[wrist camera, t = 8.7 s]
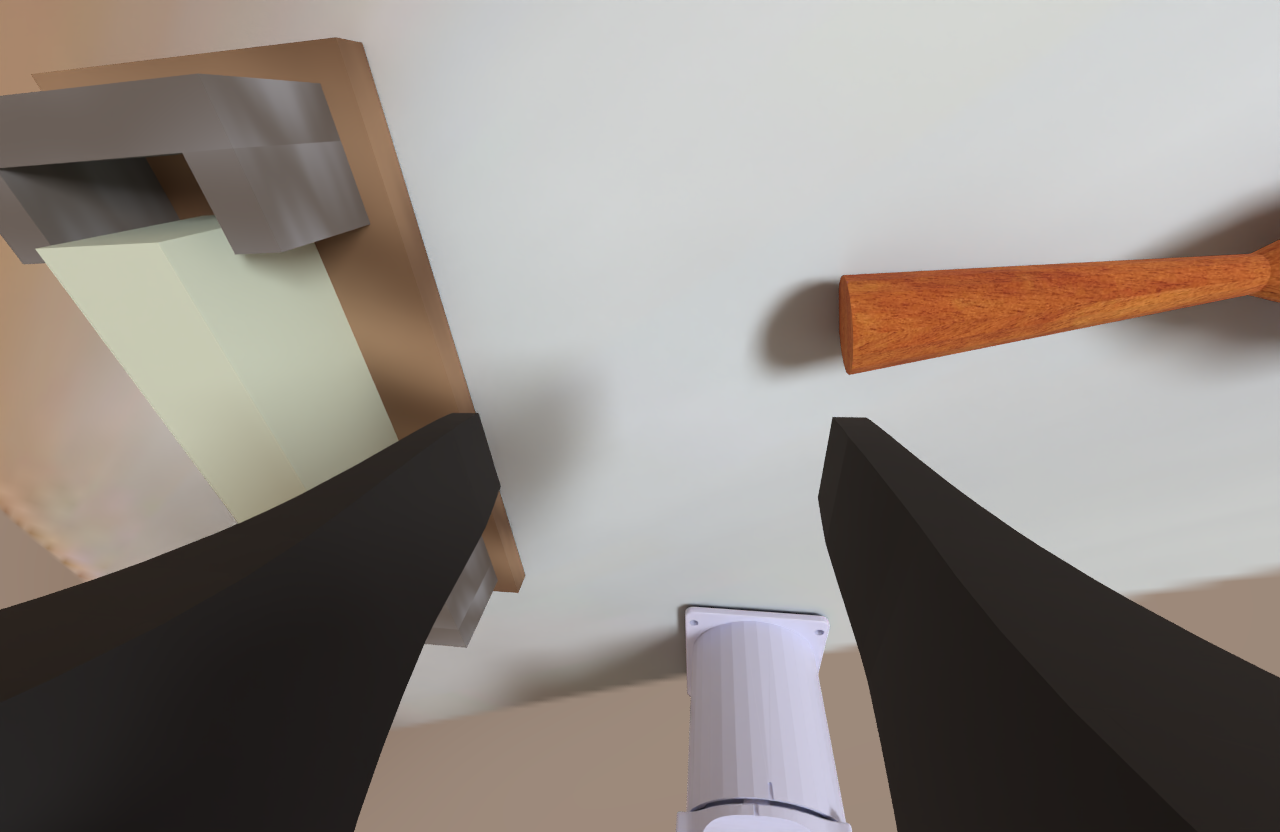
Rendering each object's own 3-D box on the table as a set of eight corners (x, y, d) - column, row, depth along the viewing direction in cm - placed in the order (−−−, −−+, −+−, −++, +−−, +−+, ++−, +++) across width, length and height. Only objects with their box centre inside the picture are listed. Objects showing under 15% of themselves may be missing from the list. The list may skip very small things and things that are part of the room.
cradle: (525, 575, 28) (490, 660, 23) (359, 564, 29) (298, 642, 25) (362, 42, 14) (210, 11, 10) (73, 76, 16) (-165, 62, 12)
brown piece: (858, 236, 12) (2502, -57, 6) (830, 230, 17) (1698, 70, 11) (863, 443, 14) (2099, 371, 8) (836, 381, 19) (1575, 311, 14)
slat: (438, 533, 25) (383, 618, 21) (370, 529, 25) (303, 611, 21) (300, 210, 16) (158, 242, 12) (202, 215, 17) (35, 248, 13)
